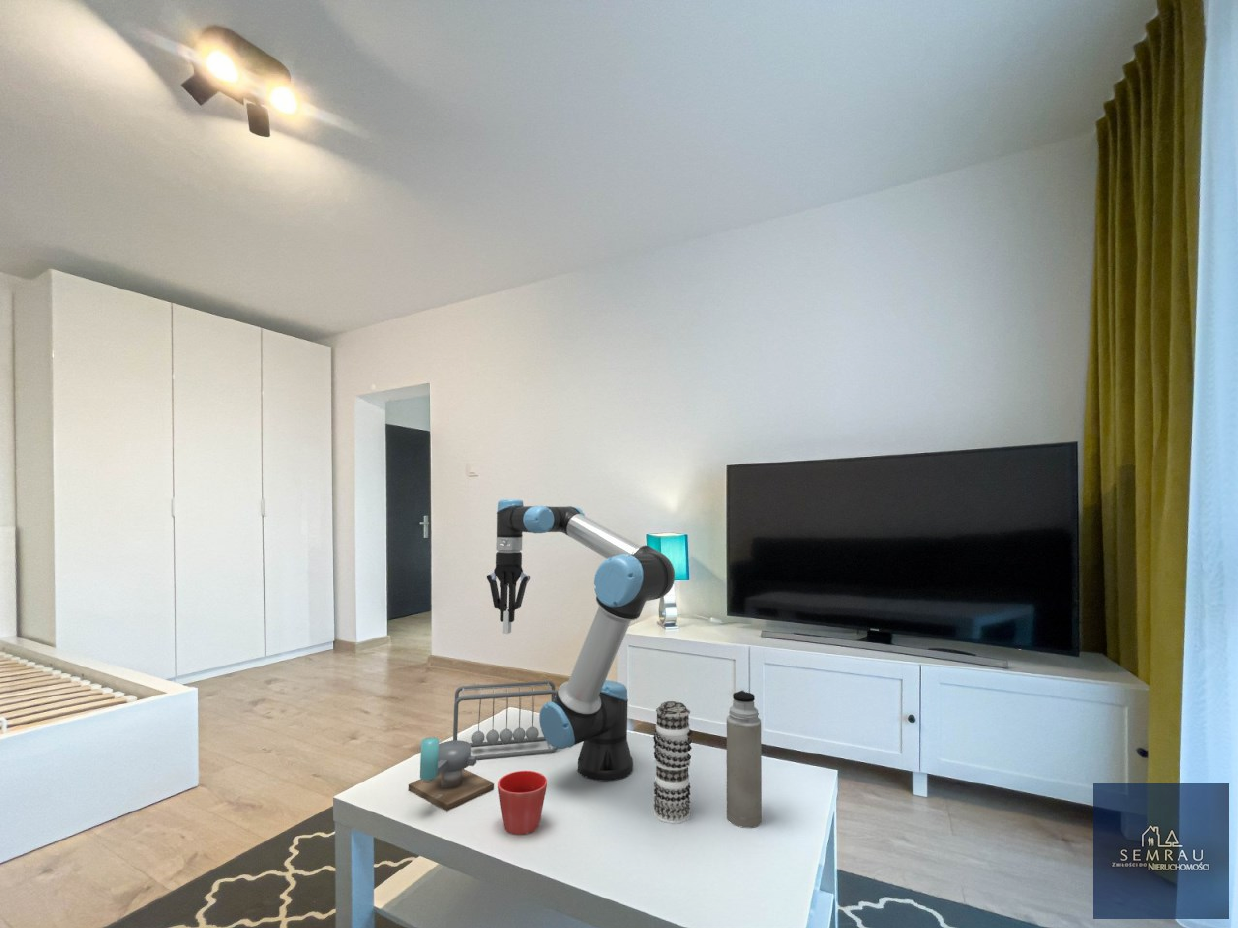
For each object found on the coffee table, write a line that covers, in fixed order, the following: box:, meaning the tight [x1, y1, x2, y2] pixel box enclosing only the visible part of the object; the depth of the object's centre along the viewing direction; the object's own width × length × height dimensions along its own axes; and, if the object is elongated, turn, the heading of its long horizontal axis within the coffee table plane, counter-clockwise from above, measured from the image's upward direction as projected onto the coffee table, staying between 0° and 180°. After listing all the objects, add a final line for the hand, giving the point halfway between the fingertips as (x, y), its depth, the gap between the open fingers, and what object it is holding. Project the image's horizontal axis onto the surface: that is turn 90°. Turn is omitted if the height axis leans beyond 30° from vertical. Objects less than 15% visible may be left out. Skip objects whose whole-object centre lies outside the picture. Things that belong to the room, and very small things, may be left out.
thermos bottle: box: [726, 691, 763, 828], centre depth 136 cm, size 8×8×28 cm
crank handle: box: [419, 736, 477, 781], centre depth 143 cm, size 18×12×10 cm, turn 170°
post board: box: [408, 768, 495, 812], centre depth 147 cm, size 16×14×6 cm
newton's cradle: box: [452, 680, 558, 761], centre depth 171 cm, size 30×10×18 cm, turn 104°
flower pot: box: [497, 770, 548, 836], centre depth 131 cm, size 11×11×10 cm
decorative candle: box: [652, 700, 693, 825], centre depth 137 cm, size 9×9×25 cm
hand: (506, 632), depth 170 cm, fingers closed
